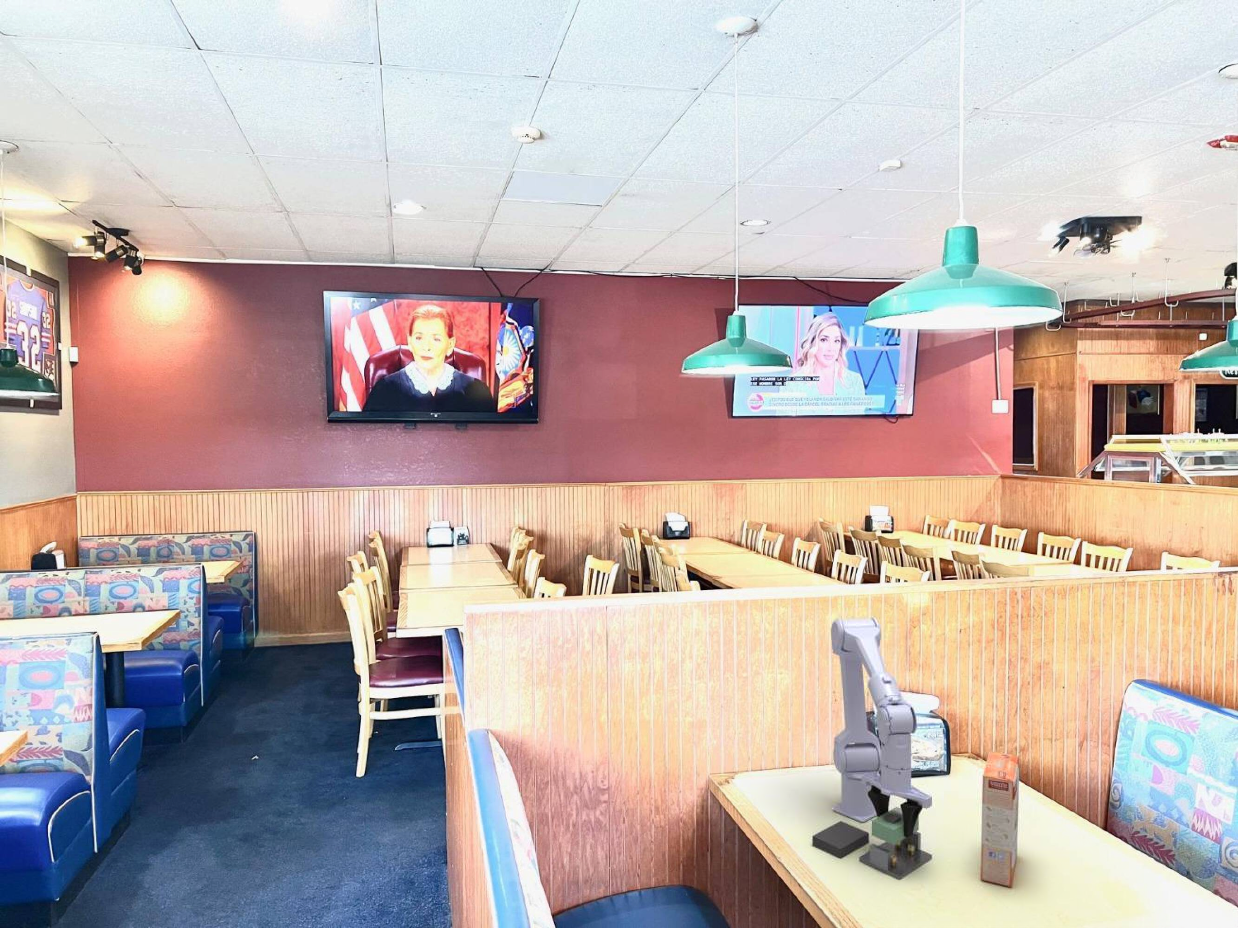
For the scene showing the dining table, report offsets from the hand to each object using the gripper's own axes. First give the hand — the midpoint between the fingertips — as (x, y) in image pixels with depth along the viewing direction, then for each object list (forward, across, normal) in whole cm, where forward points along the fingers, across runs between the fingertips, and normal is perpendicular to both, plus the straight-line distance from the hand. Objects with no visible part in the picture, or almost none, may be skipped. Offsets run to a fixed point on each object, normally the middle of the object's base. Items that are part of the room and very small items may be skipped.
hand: (895, 830), depth 163 cm
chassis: (+6, 0, 0) cm, 6 cm away
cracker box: (+6, +15, +13) cm, 21 cm away
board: (0, 0, 0) cm, 0 cm away
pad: (+6, -11, -3) cm, 13 cm away
